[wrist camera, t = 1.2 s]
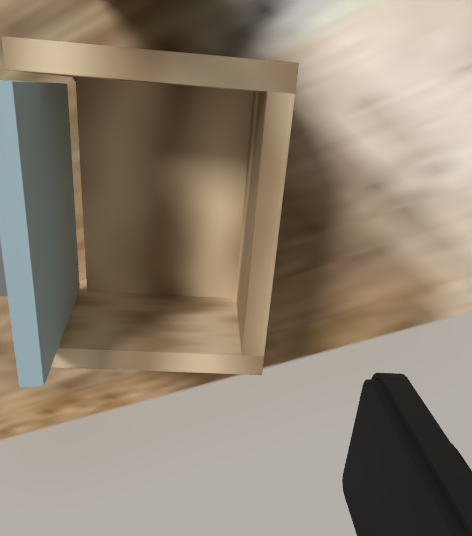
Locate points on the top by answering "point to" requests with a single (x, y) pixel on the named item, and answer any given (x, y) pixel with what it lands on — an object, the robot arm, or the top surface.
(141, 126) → the cabinet
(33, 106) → the door
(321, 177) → the top surface
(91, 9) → the top surface
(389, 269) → the top surface
